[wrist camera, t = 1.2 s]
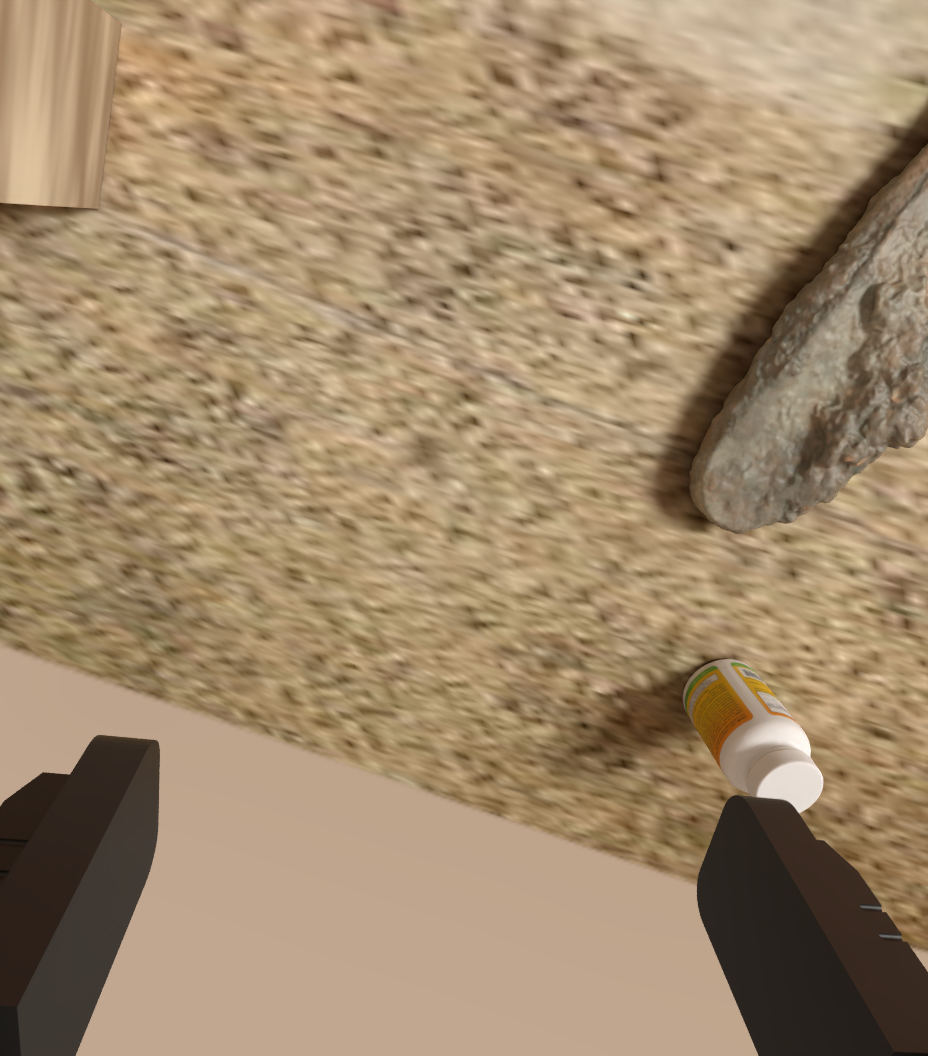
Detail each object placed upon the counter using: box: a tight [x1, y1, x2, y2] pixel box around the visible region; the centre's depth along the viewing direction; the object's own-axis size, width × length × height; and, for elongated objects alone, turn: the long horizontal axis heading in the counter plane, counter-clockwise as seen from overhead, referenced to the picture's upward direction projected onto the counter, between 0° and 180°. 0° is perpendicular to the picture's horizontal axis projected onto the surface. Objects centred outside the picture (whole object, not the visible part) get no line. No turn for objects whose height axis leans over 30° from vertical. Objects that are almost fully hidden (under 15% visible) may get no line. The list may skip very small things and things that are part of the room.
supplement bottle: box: [683, 659, 823, 813], centre depth 46 cm, size 5×5×10 cm
